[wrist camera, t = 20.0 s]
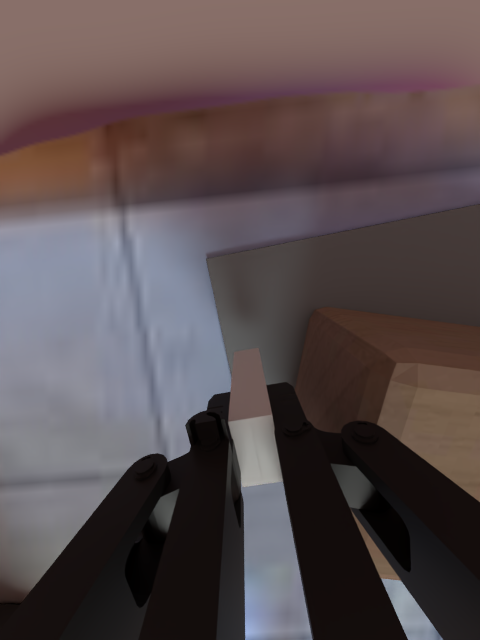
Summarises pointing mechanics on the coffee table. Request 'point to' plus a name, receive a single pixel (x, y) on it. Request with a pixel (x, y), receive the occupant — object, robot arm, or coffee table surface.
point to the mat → (347, 283)
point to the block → (397, 389)
